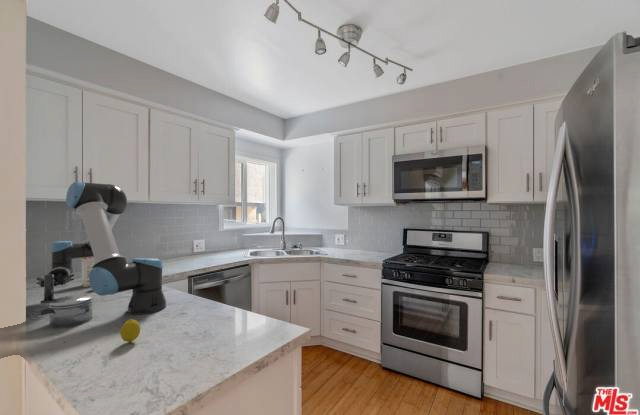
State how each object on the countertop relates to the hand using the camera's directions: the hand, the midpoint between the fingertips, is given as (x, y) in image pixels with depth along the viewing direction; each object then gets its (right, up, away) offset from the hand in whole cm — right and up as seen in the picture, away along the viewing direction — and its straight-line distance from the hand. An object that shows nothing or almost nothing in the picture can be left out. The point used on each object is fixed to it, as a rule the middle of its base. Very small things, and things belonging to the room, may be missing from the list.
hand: (49, 286), depth 116 cm
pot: (+9, -14, -2) cm, 17 cm away
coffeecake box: (-26, -15, +59) cm, 66 cm away
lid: (+8, -6, -1) cm, 10 cm away
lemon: (+46, -14, -19) cm, 52 cm away
